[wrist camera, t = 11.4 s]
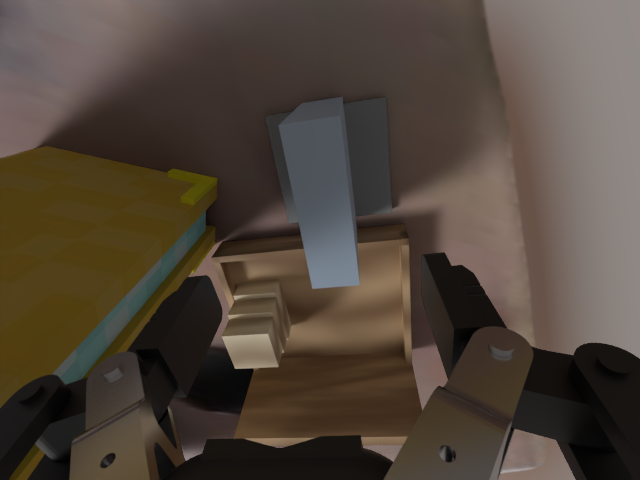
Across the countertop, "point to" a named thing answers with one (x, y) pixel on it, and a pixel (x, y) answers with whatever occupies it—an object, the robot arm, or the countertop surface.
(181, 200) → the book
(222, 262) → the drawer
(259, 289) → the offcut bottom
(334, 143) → the block
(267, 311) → the offcut middle
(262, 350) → the offcut top
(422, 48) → the countertop surface
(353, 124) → the mat
